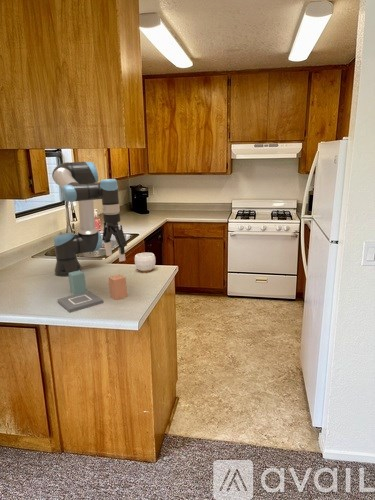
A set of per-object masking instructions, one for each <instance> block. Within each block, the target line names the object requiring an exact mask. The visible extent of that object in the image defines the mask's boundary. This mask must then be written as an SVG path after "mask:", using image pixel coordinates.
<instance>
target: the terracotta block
mask: <svg viewBox="0 0 375 500" xmlns="http://www.w3.org/2000/svg"><path fill="white" fill-rule="evenodd" d="M108 286H109V296H110V298H112V299H113V300H116V301H119V300H122V299H125V298H128V290H127V278H126V276H124V275H122V274H116V275H113V276H108Z"/></svg>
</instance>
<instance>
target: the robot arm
mask: <svg viewBox="0 0 375 500" xmlns="http://www.w3.org/2000/svg"><path fill="white" fill-rule="evenodd" d="M51 176H52V178H51V179H52V181H54V183H55V184H56V185H58V186H60V187H61V189H62V190H61V191H62V192H61V193H62V197H63V200H64V202H66V203H67V202H69V203H70V202H71V203H72V202H73V203H74V202H78V215H79V216H78V217H79V229H78V230H77V234H75V233H74V232H72V231H71V232H65V233H61V234H58V235H56V236H55V237H54V239H53V245H54V249H55V250H54V251H55V258H56V260H55V261H56V263H55V268H54V275H56V276H58V277H69V274H68V273H70V272H75V271H79V270H80V271H82V266H81V264H80V262H79V260H78V256H77V255H78V254H85V253H94V252H98V251H99V250H100V249H101V247H102V241H103V242H104V247H105V248H104V249H105V256H107V257H109V256H112V255H113V251H112V240H111V239H112V236H113V237H114V238H115V240H116V242H117V246H118V247H117V248H118V251H117V252H118V262H125V261H126V251H125V247H127V246H128V243H127V240H126V237H125V233H124V231H123V225H122V224H119V222H121V213H120V208H121V207H120V200H119V199H120V198H119V186H118V181H117V179H115V178H106V179H105V178H104V179H101V180H100V182H99V173H98V169H97V167H96V165H95V164H94V162H92V161H75V162H74V161H72V162H63V163H61V164H58V165H57V166H56V167H55V168H54V169H53V170H52V174H51ZM94 200H95V201H97V200H101V203H102V207H101V209H102V213H103V216H102V217H103V231H102V235H101V233H100V231H99V229H97V228H96V224H95V223H96V222H95V221H96V219H95V207H94V206H95V205H94V203H95V202H94Z"/></svg>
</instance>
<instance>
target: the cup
mask: <svg viewBox="0 0 375 500" xmlns="http://www.w3.org/2000/svg"><path fill="white" fill-rule="evenodd" d="M156 262H157V261H156V256H155V254H154V253H153V252H141V253H140V252H139V253H136V254H135V255H134V264H135V268H136V269H137V270H139V271H141V272H142V273H147V272H150V271H151V270H153V269H154V268H155V265H156Z"/></svg>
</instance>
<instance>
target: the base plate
mask: <svg viewBox="0 0 375 500" xmlns="http://www.w3.org/2000/svg"><path fill="white" fill-rule="evenodd" d="M56 300H57V303H58V304H59V305H61V307H63V308H64V309H65V310H66V311H67V312H69V313H74V312H77V311H79V310H83V309H86V308H87V309H88V308H90V307H93V306H97V305H101V304H104V299H102V298H101V297H100V296H99V295H96V294H95V293H94V292H92V291H90V290H88V291H87V290H86V292H83V293H79V294H72V295H68V296H64V297H61V298H57V299H56Z"/></svg>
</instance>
